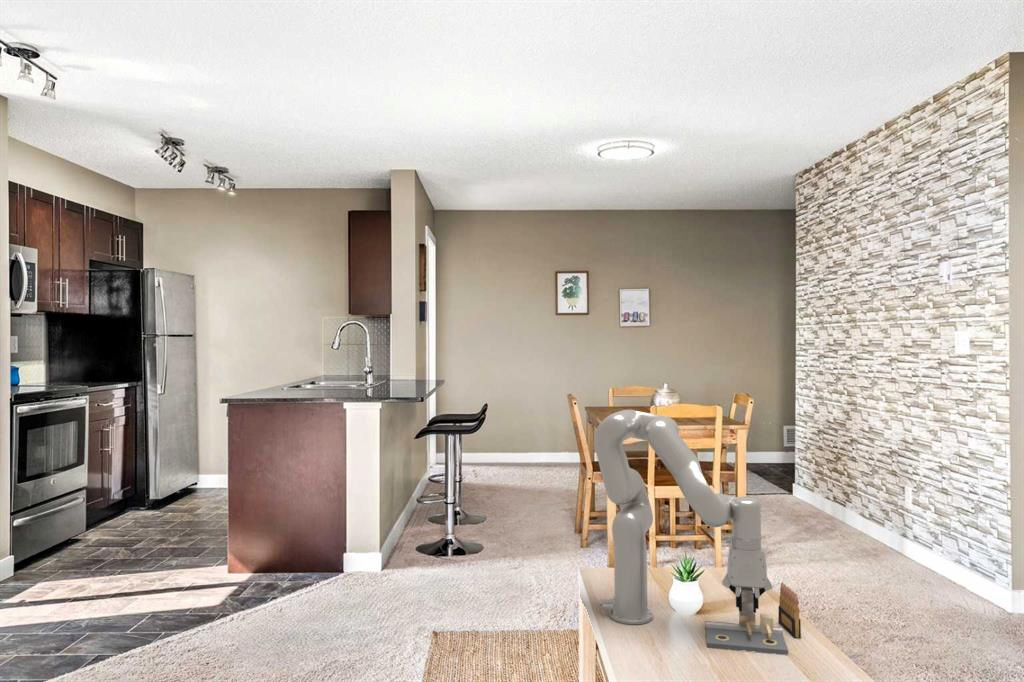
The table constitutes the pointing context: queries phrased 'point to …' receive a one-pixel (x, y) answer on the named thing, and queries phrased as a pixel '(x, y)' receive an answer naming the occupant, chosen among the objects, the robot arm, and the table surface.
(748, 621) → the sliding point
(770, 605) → the table surface
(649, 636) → the table surface
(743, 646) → the hole plate
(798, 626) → the ammunition clip
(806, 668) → the table surface
